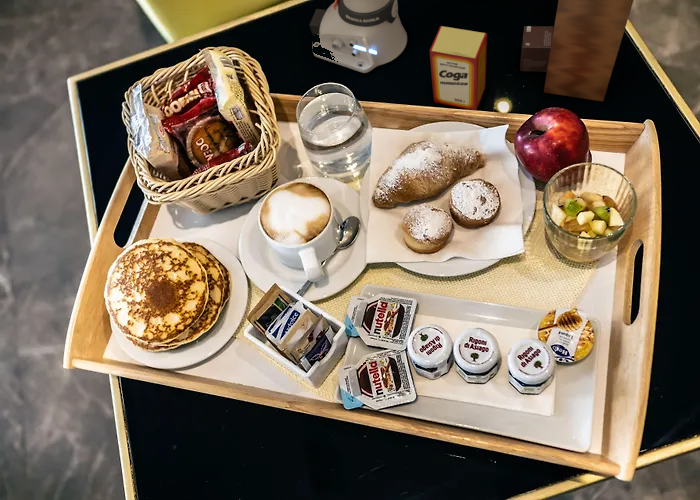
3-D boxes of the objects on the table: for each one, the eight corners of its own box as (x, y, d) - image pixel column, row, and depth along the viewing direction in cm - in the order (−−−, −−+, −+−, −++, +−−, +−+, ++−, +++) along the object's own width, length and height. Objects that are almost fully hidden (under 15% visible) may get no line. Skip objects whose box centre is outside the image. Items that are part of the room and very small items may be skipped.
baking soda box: (434, 102, 132) (429, 49, 118) (443, 79, 134) (440, 24, 120) (476, 110, 129) (476, 57, 115) (485, 87, 131) (487, 32, 117)
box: (548, 72, 130) (552, 48, 123) (519, 72, 131) (521, 47, 125) (550, 51, 132) (554, 25, 126) (521, 50, 134) (524, 25, 127)
